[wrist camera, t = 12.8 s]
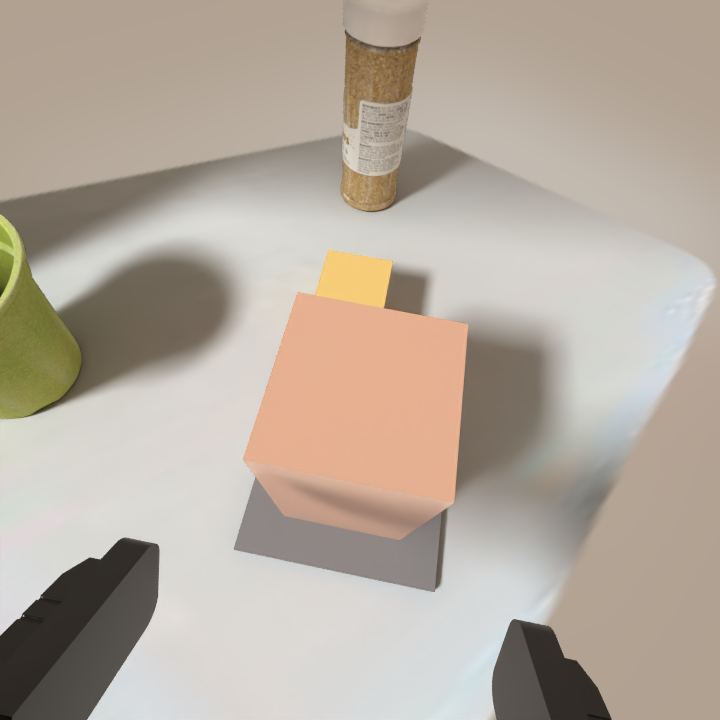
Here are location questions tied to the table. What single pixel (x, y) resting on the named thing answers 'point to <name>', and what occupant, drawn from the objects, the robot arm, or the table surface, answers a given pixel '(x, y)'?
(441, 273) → the table surface
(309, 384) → the tall peach pillar
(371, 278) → the ochre block
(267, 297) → the table surface
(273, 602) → the table surface
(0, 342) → the plant pot
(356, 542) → the gray mat
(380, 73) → the spice jar
